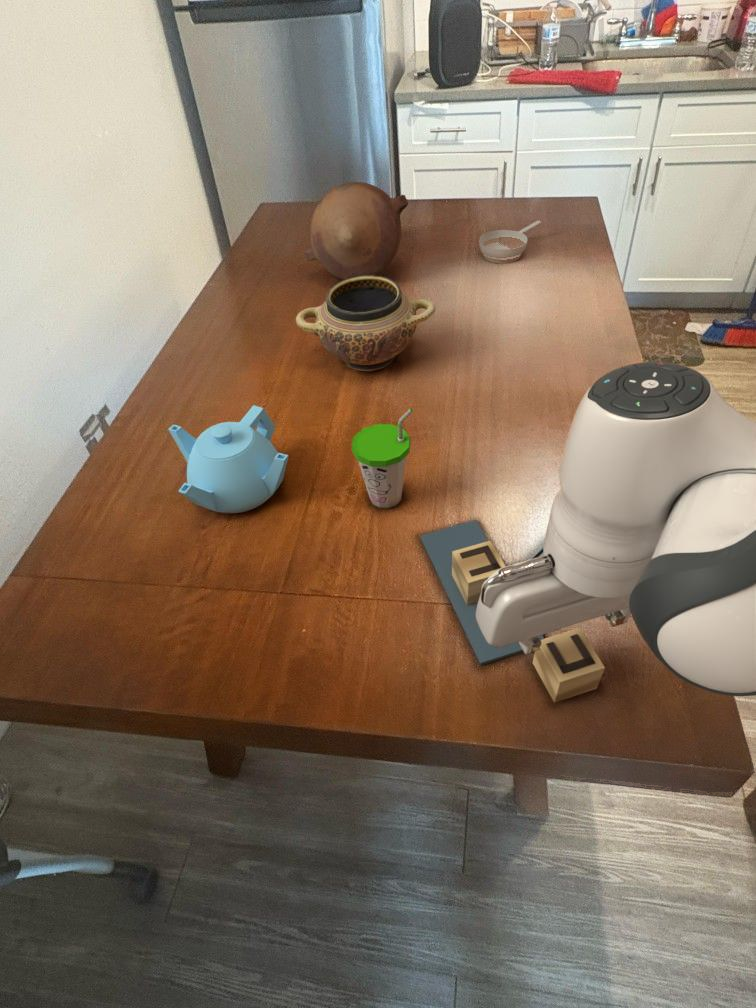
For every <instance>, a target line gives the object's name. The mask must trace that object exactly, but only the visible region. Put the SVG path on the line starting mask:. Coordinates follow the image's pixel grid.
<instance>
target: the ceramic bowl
mask: <svg viewBox="0 0 756 1008" xmlns="http://www.w3.org/2000/svg"><path fill="white" fill-rule="evenodd" d="M419 309H424V311H423V312H421V313H419V314H417V311H418V310H419ZM435 312H436V305H435V304H434V303H433V302H432V301H430V300H428V299H422V298H420V299H410V298H409V297H407V296H406V295H405V294H404V293H402V289H401V287H400V286H399V284H398V283H397V282H396V281H394V280H393V279H391V278H389V277H385V276H382V275H380V276H374V275H363V276H357V277H352V278H349V279H345V280H340V281H338V282H337V283H335V284H334V285H333V286H331V287H330V288H329V290H328V291H327V293H326V297H325V301H324V302H323V303H322V304H320V305H318V306H316V307H315V306H314V307H306V308H304V309H303V310H301V311H299V313H298V314H297V315H296V317H295V323H296V326H297V327H298V328H299V329H300V330H302V331H304V332H306V333H310V334H312V335H315V336H316V337H318V339H319V341H320V343H321V345H322V346H323V347H324V348H325V349H326V350H327V351H328V352H329V353H330V354H331V355H333V356H334V357H335V358H337V359H339V360H341V361H343V362H344V364H345V365H346V366H347V367H348V368H350V369H353V370H355V371H360V372H373V371H377V370H381V369H383V368H385V367H387V366H389V365H390V364H391V363H392V362H393V361H394V359H395V357H396V356H398V355H399V354H401V353H402V352H403V351H404V350H405V349H406V347H408V345H409V344H410V343H411V341H412V340H413V337H414V335H415V334H416V333H415V332H416V329H417V325H419V324H421V323H423V322H425V321H427V320H429V319H430V318H431V317H432V316H434V314H435ZM309 318H315V322H308V321H307V320H306V319H309Z"/></svg>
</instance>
